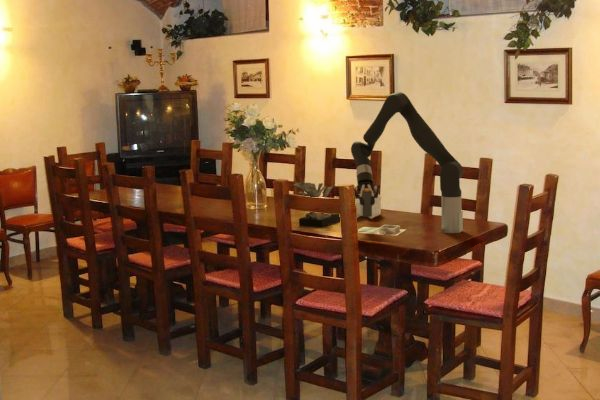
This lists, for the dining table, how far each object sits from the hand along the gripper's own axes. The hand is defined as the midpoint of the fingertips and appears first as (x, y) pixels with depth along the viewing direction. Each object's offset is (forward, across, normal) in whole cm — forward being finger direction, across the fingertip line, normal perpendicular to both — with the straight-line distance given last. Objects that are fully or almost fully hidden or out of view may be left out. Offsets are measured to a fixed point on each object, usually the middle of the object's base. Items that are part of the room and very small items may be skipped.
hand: (367, 204), depth 354 cm
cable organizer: (-20, +5, +40) cm, 45 cm away
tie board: (+11, +5, +9) cm, 15 cm away
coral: (-11, -24, +32) cm, 42 cm away
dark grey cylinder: (+3, 0, +6) cm, 6 cm away
